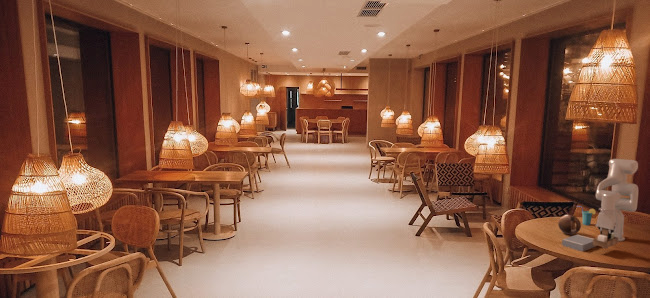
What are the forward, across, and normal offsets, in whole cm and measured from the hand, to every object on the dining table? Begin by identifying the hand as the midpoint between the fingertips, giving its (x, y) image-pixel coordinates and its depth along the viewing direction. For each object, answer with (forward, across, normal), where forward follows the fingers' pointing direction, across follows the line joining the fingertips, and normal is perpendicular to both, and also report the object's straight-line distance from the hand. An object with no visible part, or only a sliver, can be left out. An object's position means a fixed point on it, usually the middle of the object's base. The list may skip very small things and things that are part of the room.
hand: (605, 237), depth 285 cm
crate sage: (+2, 0, +5) cm, 5 cm away
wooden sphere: (+11, -34, +19) cm, 40 cm away
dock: (+11, -16, -2) cm, 19 cm away
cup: (+12, -40, +56) cm, 70 cm away
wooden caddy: (+5, 0, 0) cm, 5 cm away
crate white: (+2, 0, -5) cm, 5 cm away
